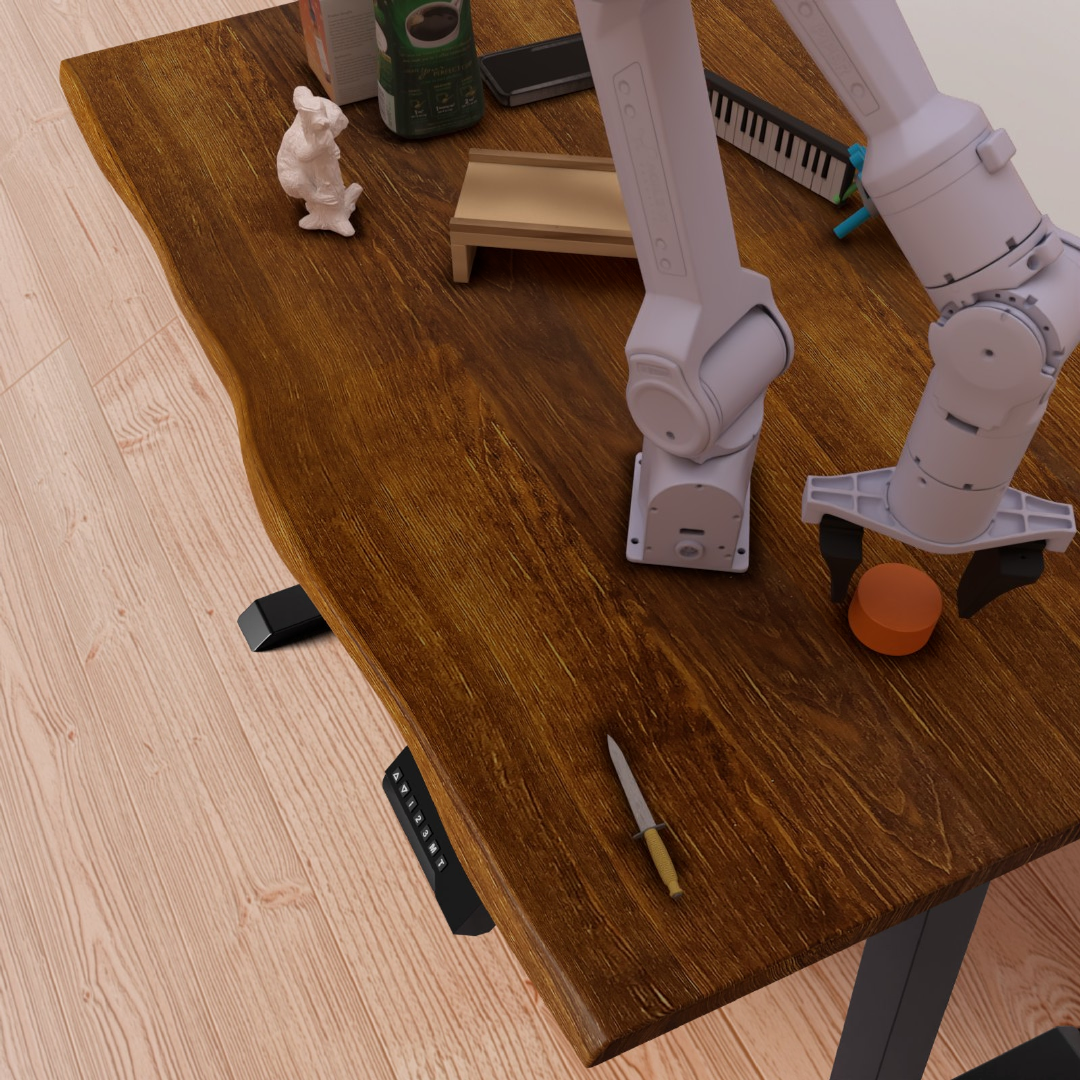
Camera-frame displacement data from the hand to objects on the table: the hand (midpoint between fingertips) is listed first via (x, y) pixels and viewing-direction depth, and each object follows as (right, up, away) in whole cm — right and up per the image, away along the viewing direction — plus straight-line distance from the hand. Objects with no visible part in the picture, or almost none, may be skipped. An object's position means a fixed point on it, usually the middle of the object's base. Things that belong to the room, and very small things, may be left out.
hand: (899, 597), depth 72 cm
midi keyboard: (-2, +37, +32) cm, 49 cm away
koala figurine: (-40, +31, +28) cm, 58 cm away
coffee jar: (-32, +43, +37) cm, 65 cm away
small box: (-41, +48, +40) cm, 75 cm away
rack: (-20, +27, +25) cm, 42 cm away
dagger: (-17, -12, -6) cm, 21 cm away
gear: (+6, +29, +26) cm, 40 cm away
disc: (0, -2, +2) cm, 3 cm away
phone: (-20, +49, +41) cm, 67 cm away
